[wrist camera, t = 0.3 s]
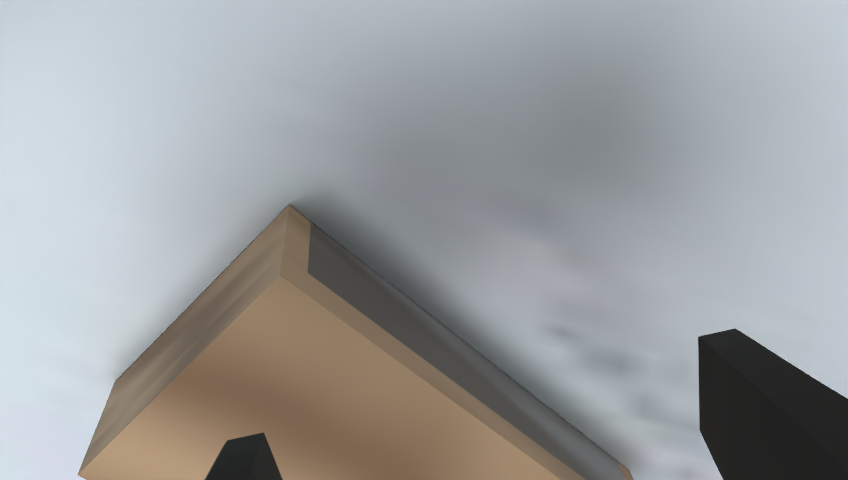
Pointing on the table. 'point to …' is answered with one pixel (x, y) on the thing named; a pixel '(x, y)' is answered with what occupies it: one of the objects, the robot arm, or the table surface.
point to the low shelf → (326, 383)
